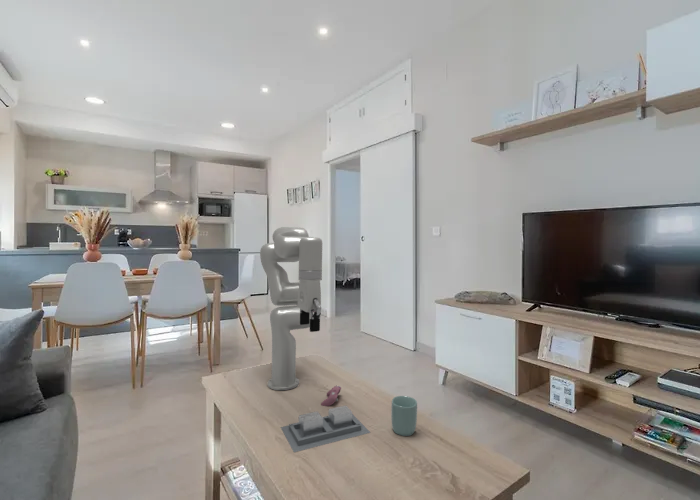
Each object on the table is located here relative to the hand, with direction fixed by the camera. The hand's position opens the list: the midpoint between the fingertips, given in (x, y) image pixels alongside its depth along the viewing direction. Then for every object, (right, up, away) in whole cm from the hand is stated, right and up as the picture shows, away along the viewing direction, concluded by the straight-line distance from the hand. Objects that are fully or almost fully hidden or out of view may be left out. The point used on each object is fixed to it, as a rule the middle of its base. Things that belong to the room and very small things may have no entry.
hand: (309, 327), depth 114 cm
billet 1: (+1, -30, -9) cm, 31 cm away
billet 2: (+10, -30, -5) cm, 32 cm away
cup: (+30, -31, -6) cm, 44 cm away
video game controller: (+7, -30, +13) cm, 34 cm away
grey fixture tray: (+6, -31, -7) cm, 32 cm away
